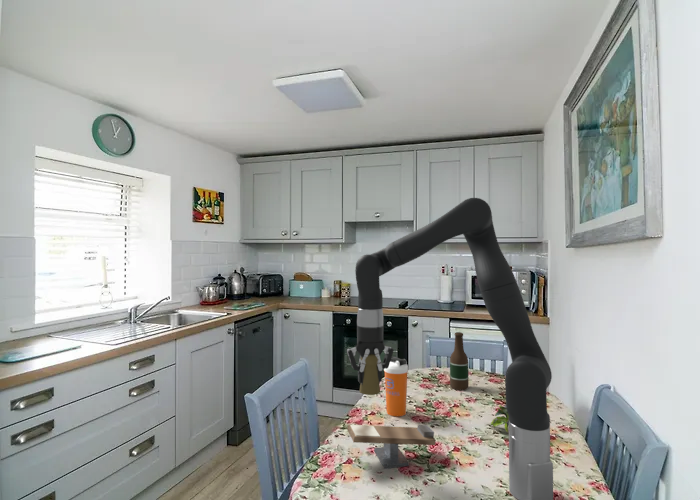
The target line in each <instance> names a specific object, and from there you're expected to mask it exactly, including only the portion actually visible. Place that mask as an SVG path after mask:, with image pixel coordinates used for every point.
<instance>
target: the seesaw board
mask: <svg viewBox="0 0 700 500" xmlns="http://www.w3.org/2000/svg"><path fill="white" fill-rule="evenodd" d="M346 430H347V432H348V434H349V436H350V437H351V440H352V441H353V443H359V444H362V443H363V444H365V443H366V444H384V443H387V444H398V445H417V446H418V445H421V446H436V441H437V440H436V438H435V437H434V436H435V432H434V430H433V429H432V428H431V427H430V426H429V425H427V424H417V427H412V426H411V427H408V426H388V425H386V426H385V425H366V424H362V425H361V424H347V429H346Z"/></svg>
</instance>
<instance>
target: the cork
mask: <svg viewBox="0 0 700 500" xmlns="http://www.w3.org/2000/svg"><path fill="white" fill-rule="evenodd" d="M362 359H363V358H362V357H361V360H362ZM377 362H378V358H377V357H376V356H375V354H369V355H368V356H367V357H366V359H365V363H366V364H365V367H364V371H363V372H364V379H363V385H361V383H359V384H360V385H359V393H360V394H363V395H365V396H375V395H378V394H380V393H381V387H380V384H379V379H378V369H377Z"/></svg>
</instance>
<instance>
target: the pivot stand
mask: <svg viewBox="0 0 700 500" xmlns="http://www.w3.org/2000/svg"><path fill="white" fill-rule="evenodd" d="M373 451H374V454H375V455H376V457H377V459H378V460H379V462H380V463H381V465H382V466H383V469H384V470H385V469H393V468H401V467H402V468H403V467H409V465H410V464H409V461H408V459H407V458H406V456H405V455H404V454H403V452H402V451H401V450H400V448H399V444H387V443H383V446H382V447H381V446H379V447H374V449H373Z"/></svg>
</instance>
